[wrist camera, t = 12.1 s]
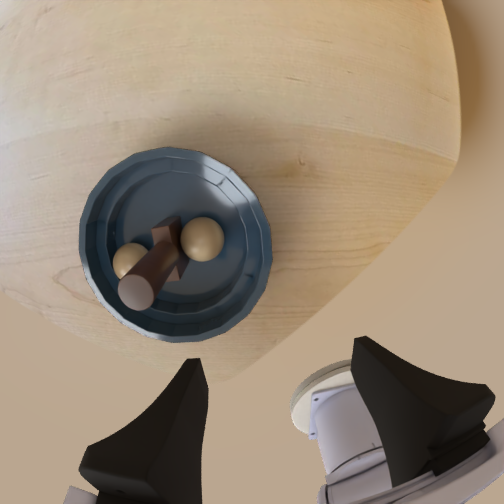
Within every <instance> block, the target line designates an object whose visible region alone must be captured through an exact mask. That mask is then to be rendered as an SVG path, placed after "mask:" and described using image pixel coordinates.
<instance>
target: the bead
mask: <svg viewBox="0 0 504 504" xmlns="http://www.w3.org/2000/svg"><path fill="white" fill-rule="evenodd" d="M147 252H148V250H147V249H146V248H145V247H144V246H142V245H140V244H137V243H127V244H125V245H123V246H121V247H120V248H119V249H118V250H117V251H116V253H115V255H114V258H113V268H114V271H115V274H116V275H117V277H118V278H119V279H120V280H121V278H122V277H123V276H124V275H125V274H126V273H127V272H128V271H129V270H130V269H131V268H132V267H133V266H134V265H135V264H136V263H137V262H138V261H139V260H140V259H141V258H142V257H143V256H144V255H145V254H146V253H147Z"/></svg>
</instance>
